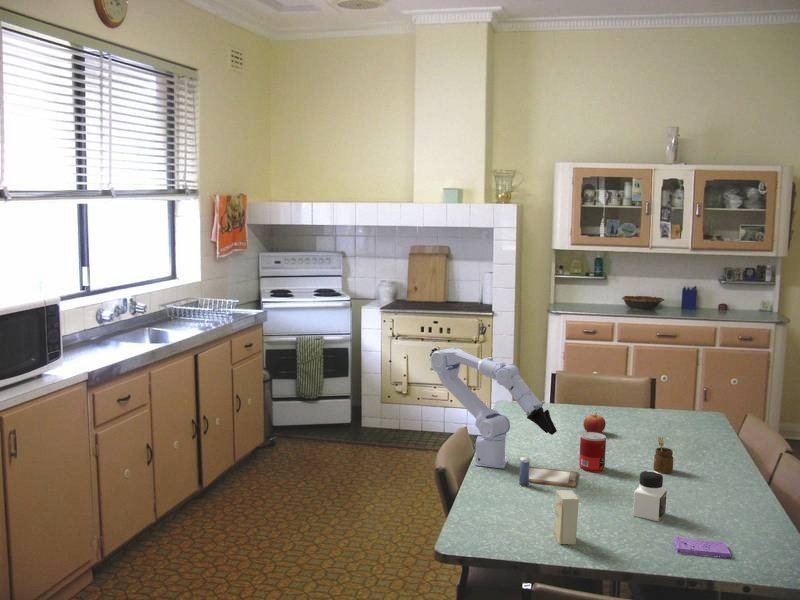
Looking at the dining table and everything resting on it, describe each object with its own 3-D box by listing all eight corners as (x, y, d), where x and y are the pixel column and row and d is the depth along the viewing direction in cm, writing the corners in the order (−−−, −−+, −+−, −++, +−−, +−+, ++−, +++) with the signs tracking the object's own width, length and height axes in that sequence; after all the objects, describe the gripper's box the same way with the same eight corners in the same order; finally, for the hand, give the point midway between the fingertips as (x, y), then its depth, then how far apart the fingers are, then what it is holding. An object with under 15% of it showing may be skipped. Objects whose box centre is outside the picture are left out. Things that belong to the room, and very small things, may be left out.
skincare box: (552, 534, 204) (554, 489, 202) (569, 534, 204) (571, 489, 203) (559, 545, 197) (561, 498, 196) (577, 545, 198) (579, 498, 196)
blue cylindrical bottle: (518, 485, 238) (519, 459, 237) (519, 482, 241) (520, 456, 240) (528, 487, 237) (529, 460, 236) (529, 483, 240) (530, 457, 239)
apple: (608, 432, 295) (609, 412, 294) (601, 438, 288) (602, 416, 287) (587, 429, 299) (588, 408, 298) (580, 434, 292) (581, 413, 291)
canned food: (605, 473, 250) (606, 439, 249) (579, 471, 252) (580, 438, 251) (603, 465, 258) (605, 433, 256) (578, 463, 259) (580, 431, 258)
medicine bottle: (659, 522, 213) (661, 479, 211) (632, 516, 217) (634, 474, 215) (665, 513, 219) (668, 471, 217) (639, 507, 223) (642, 466, 221)
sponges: (672, 543, 201) (673, 536, 201) (725, 548, 199) (725, 541, 198) (676, 554, 194) (676, 547, 194) (730, 560, 192) (731, 553, 192)
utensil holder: (675, 470, 254) (678, 434, 252) (667, 475, 249) (669, 438, 248) (658, 466, 258) (660, 430, 256) (649, 471, 253) (651, 434, 252)
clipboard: (521, 481, 242) (521, 478, 242) (527, 468, 254) (527, 464, 254) (575, 487, 237) (575, 484, 237) (577, 473, 250) (578, 470, 250)
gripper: (529, 386, 240) (557, 421, 235) (539, 392, 253) (566, 426, 248) (511, 400, 241) (538, 436, 236) (522, 405, 254) (548, 439, 249)
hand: (551, 432), depth 242 cm, fingers open, 7 cm apart
